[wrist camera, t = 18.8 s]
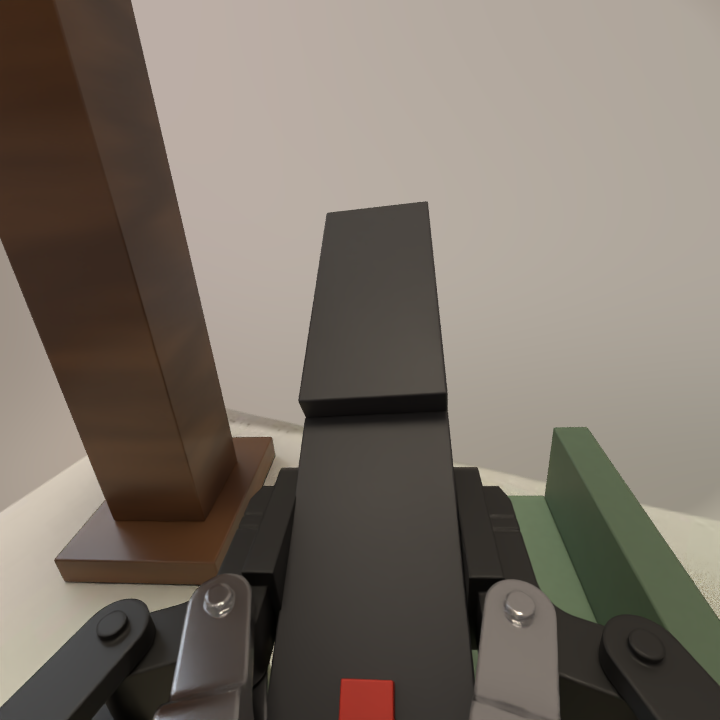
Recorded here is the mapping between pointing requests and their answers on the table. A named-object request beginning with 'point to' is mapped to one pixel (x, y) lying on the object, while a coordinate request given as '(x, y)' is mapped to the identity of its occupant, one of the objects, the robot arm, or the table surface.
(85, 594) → the table surface
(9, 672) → the table surface
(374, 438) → the remote
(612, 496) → the green l-shaped bookend
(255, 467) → the stand
